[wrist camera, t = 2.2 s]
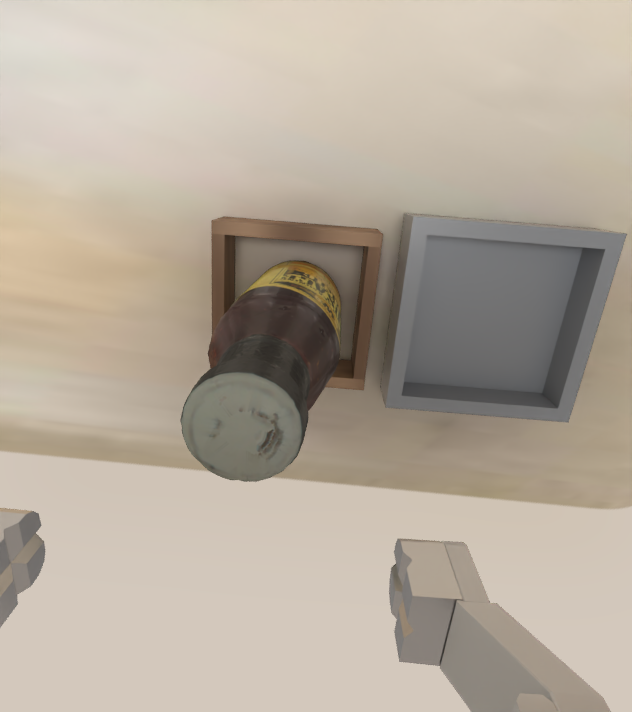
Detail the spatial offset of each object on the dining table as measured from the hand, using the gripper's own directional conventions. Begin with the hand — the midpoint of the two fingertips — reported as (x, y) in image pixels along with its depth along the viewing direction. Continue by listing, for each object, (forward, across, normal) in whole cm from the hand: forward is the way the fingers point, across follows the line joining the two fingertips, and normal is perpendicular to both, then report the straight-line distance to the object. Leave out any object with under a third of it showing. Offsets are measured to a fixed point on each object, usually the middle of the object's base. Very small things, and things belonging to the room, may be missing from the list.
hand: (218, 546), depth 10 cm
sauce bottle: (+24, 0, 0) cm, 25 cm away
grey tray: (+24, -14, 0) cm, 28 cm away
